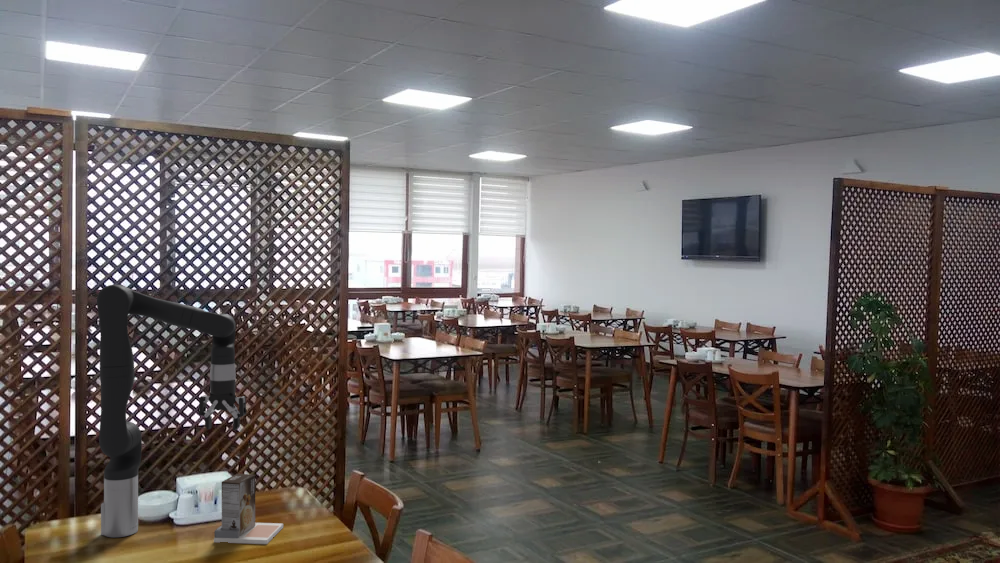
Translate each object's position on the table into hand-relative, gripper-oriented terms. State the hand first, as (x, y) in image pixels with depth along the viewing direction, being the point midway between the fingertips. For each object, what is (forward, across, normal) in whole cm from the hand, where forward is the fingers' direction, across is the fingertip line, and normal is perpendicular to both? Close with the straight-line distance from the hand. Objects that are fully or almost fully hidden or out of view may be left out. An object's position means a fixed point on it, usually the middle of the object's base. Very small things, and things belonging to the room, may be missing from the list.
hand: (222, 429), depth 237 cm
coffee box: (+29, +9, -8) cm, 31 cm away
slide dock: (+30, +12, -8) cm, 33 cm away
